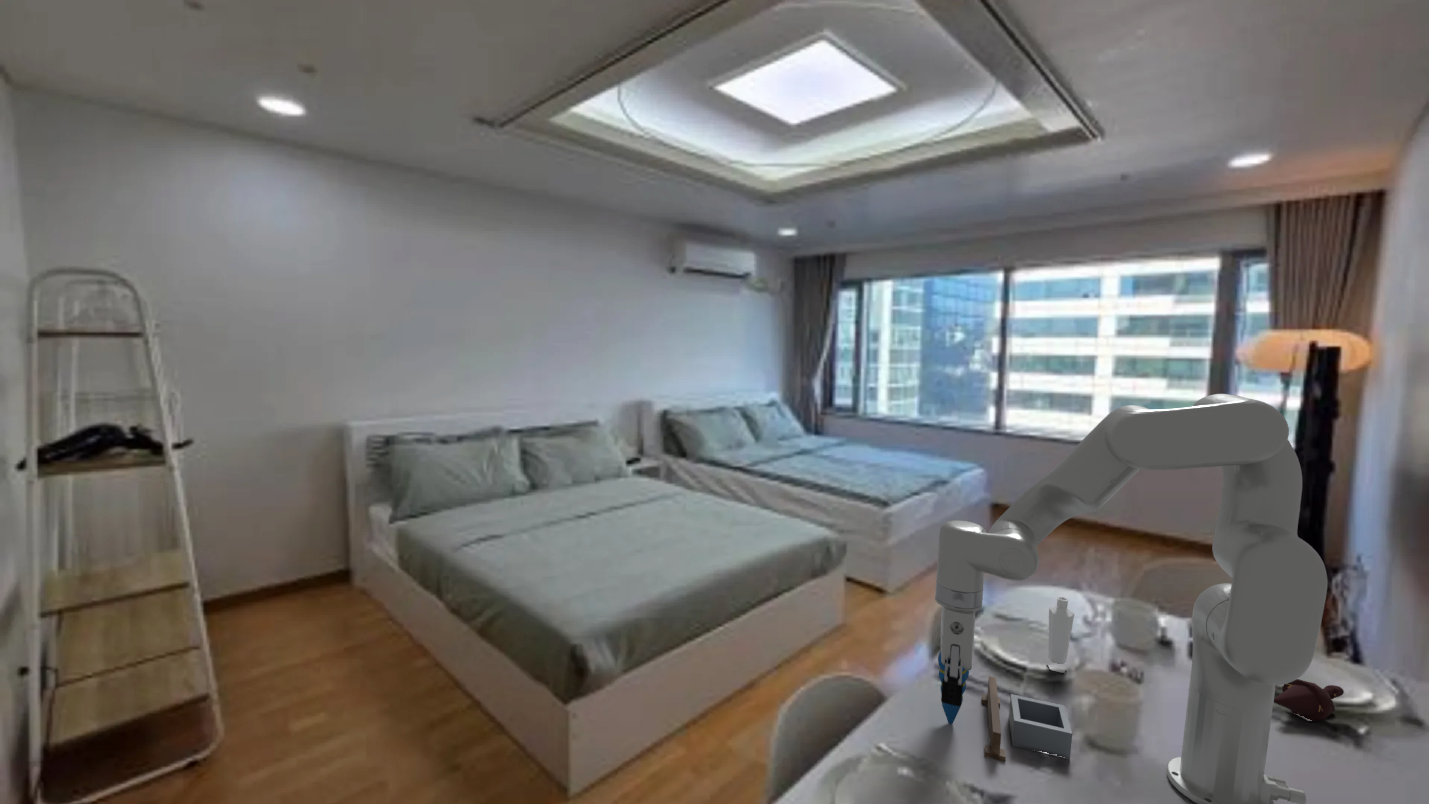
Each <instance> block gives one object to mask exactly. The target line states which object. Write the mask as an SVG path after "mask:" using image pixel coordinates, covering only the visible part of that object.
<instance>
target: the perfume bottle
mask: <svg viewBox="0 0 1429 804" xmlns="http://www.w3.org/2000/svg"><path fill="white" fill-rule="evenodd" d="M1056 598H1057V600H1056V606H1051V607H1049V608H1048V659H1050V661H1051V662H1053V663H1057V664H1064V663H1065V662H1066V663H1067V658H1068V652H1069V647H1070V642H1071V634H1072V631H1073V630H1072V629H1073V625H1074V619H1075V618H1074V617H1075V612H1074V611H1073V610H1070V609H1069V608H1068V605H1069V600H1070V599H1069V598H1067V597H1064V596H1057V597H1056Z"/></svg>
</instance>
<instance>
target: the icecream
mask: <svg viewBox="0 0 1429 804" xmlns="http://www.w3.org/2000/svg"><path fill="white" fill-rule="evenodd" d="M1281 691H1282V693H1280V694H1279V695H1277V696H1274V704H1276V705H1278V706H1282V707H1284V708H1286V709H1288V710H1290V711H1291V712H1293V713H1295V714H1299V715H1300V716H1304V717H1305V718H1307V719H1310V720H1312V721H1314V722H1313V723H1315V722H1318V721H1323V720H1326V719H1327V717H1328V716H1330V715H1332V713H1333V712H1334V711H1335V710H1336V708H1335V705H1334V701H1333V700H1334V699H1335V698H1339V697H1342V696H1343V695H1344V693H1345V691H1344V689H1343V688H1342V687H1341V686H1339V685H1334V684H1331V685H1330V684H1329V685H1325V687H1323V688H1322V687H1321V686H1319V685H1318V684H1316V683H1315V682H1311V681H1306V680H1303V679H1299V678H1298V679H1296V680H1295V681H1292V682H1290V683H1287V684H1283V685H1281ZM1293 713H1292V714H1293Z"/></svg>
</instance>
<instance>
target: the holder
mask: <svg viewBox="0 0 1429 804" xmlns="http://www.w3.org/2000/svg"><path fill="white" fill-rule="evenodd" d="M1008 709H1009V710H1008V723H1009V730H1010V740H1011V741H1010V742H1011V746H1012V747H1014V748H1019V749H1022V750H1027V751H1032V750H1033V751H1032V752H1035V751H1042V752H1047V753H1049V754H1057V756H1062V757H1065V758H1066V759H1065V760H1068V759H1069V760H1068V761H1070V760H1071V753H1072V752H1071V751H1072V741H1073V731H1072V729H1071V724H1070V721H1069V717H1068V713H1067V710H1066V706H1065V705H1064V704H1059V703H1054V702H1050V701H1045V700H1041V699H1036V698H1031V697H1026V696H1021V695H1017V694H1013V693H1010V698H1009V708H1008ZM1034 750H1035V751H1034Z"/></svg>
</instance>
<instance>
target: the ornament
mask: <svg viewBox="0 0 1429 804" xmlns="http://www.w3.org/2000/svg"><path fill="white" fill-rule="evenodd" d="M951 646H952V644H951ZM937 661H938V662H937V663H938V666H939V670H938V677H939V680H940V683H941V685H940V693H941V695H942V681H943V679H944V675H945V665H943V664H942V662H941V650H940V651H939V652H938V657H937ZM960 661H961V660H960ZM948 662H949V663H950V662H951V660H949V659H948ZM958 665H960V662H958ZM948 671H950V667H948ZM958 673H959V669H958ZM969 674H970V670H968V669H964V667H963V669H962V683H963V689H962V702H961V706H955V705H951V704H946V703H943V702H942V701H941V707H942V709H943V713H944V714H945V717H946V720H947V722H948V724H949V725H952V724H954V722H955V720H956V718H957V715H958V714H959V712H960V709H961V707H962V705H963V700H964V697H963V695H964V693H965V691H966V689H967V680H968V678H969V676H970V675H969Z"/></svg>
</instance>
